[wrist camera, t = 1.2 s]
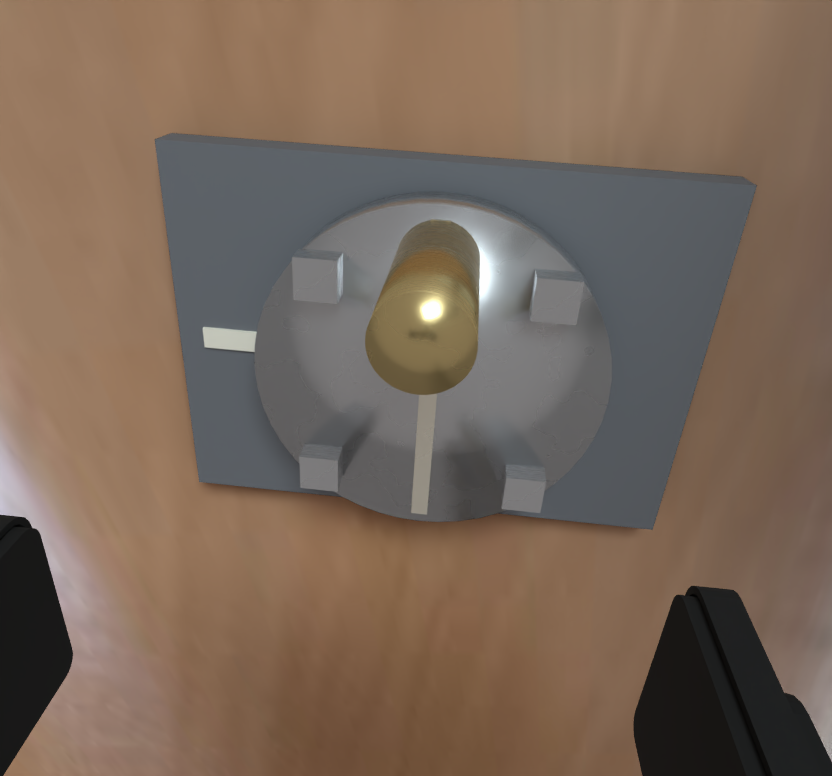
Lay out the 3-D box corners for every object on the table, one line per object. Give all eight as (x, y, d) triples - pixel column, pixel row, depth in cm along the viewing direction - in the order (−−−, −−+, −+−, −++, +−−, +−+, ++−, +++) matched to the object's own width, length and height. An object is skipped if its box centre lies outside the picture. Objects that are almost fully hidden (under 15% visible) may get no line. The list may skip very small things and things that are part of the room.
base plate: (742, 176, 25) (758, 186, 23) (645, 509, 33) (653, 531, 31) (171, 133, 26) (152, 139, 25) (210, 464, 34) (198, 483, 32)
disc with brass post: (638, 207, 24) (711, 297, 16) (571, 508, 31) (600, 674, 23) (259, 176, 25) (153, 250, 17) (276, 477, 32) (207, 628, 24)
